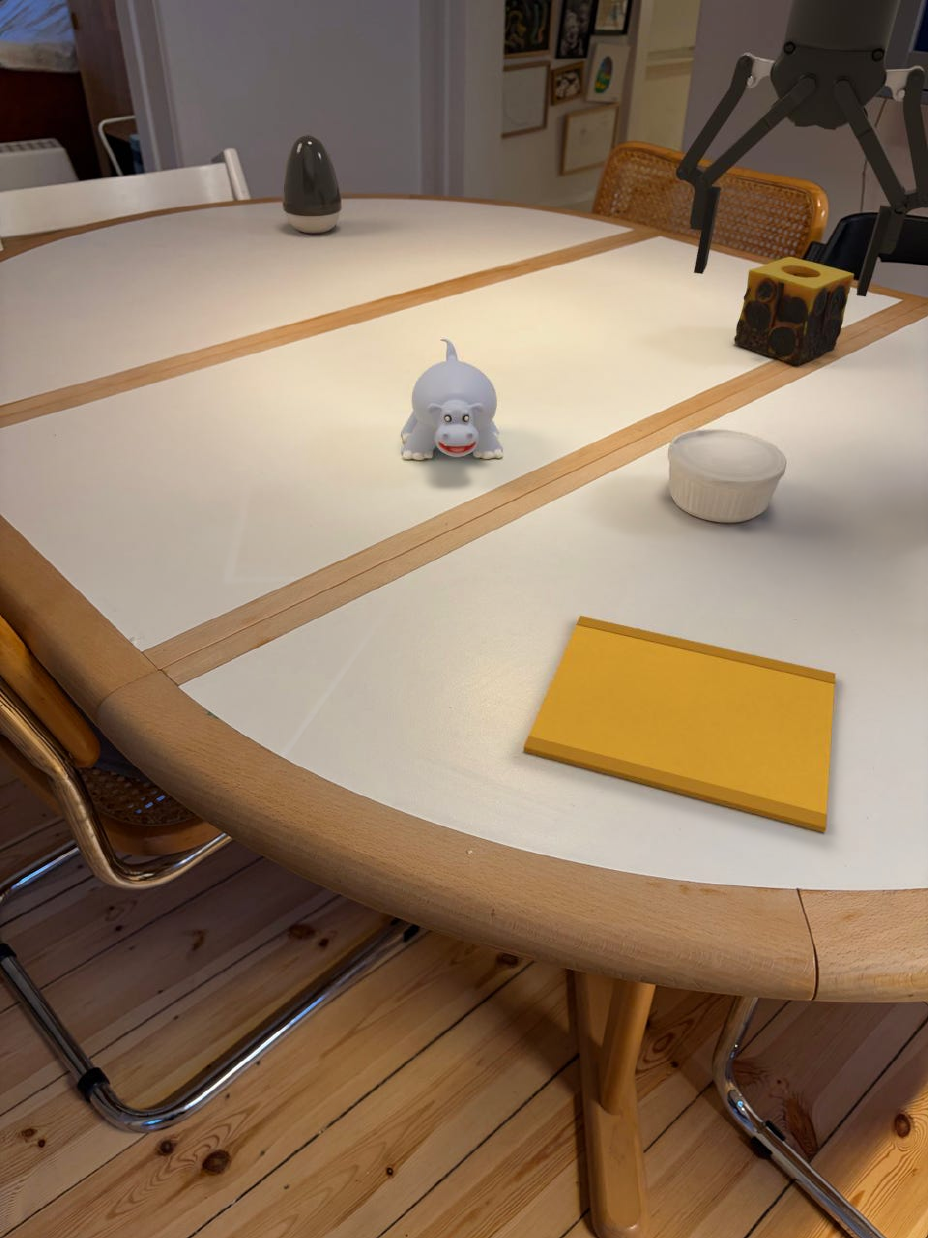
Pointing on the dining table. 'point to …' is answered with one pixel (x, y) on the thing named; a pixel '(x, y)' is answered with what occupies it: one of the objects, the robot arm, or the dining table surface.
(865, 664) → the dining table surface
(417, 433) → the hippopotamus toy
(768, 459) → the ramekin
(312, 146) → the black egg shape
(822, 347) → the candle
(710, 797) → the tray
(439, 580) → the dining table surface
